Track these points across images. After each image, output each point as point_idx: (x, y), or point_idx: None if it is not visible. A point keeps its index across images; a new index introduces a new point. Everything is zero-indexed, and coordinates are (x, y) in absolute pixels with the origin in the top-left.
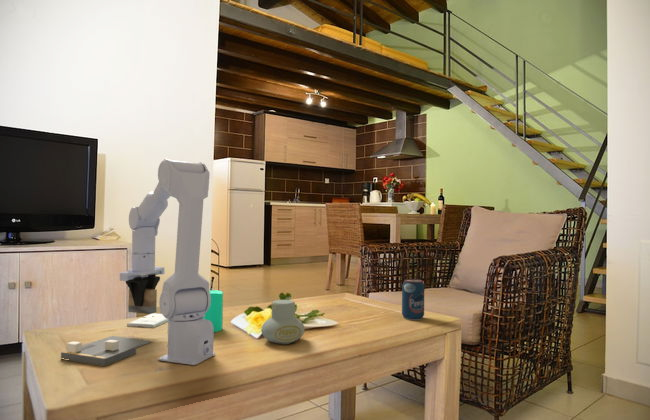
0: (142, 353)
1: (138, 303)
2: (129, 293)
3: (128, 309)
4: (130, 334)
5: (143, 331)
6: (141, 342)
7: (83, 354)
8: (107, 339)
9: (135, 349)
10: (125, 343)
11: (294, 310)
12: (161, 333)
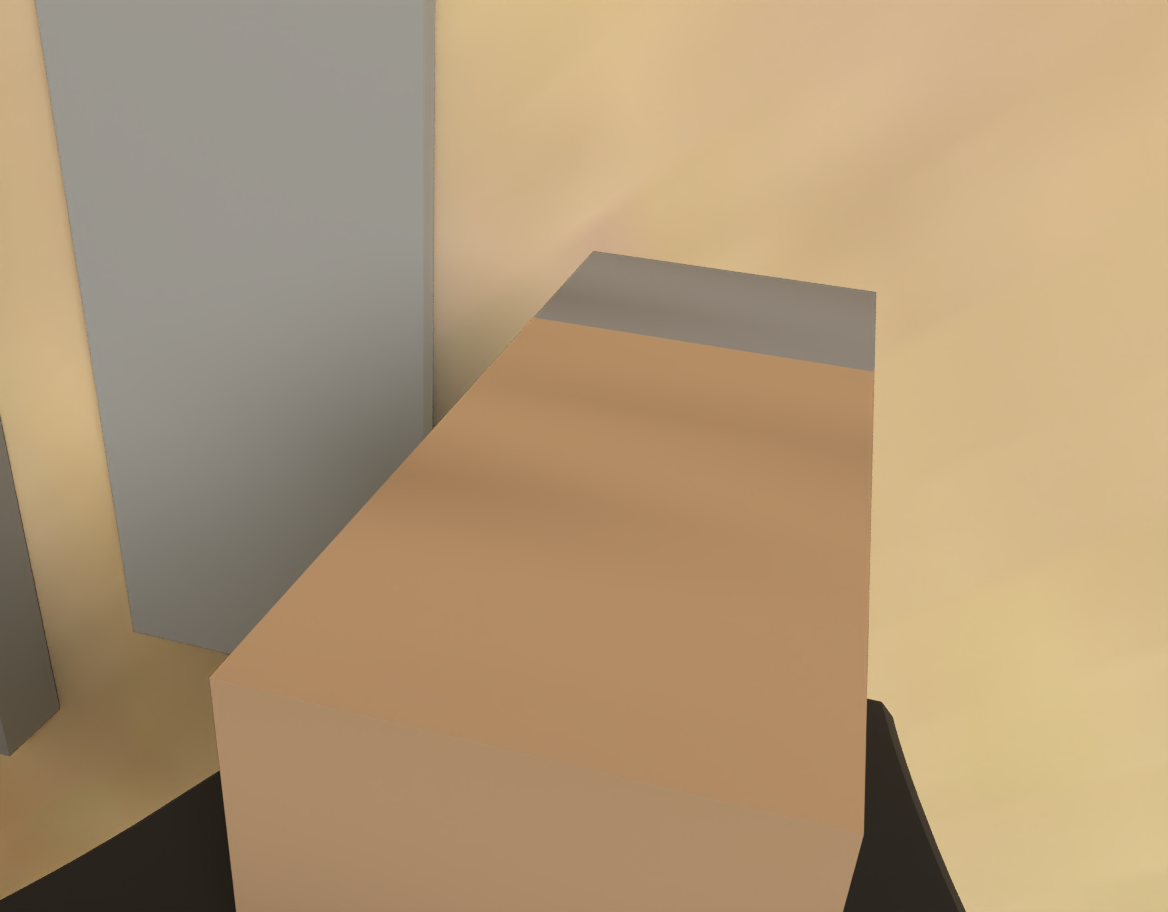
0: (97, 758)
1: None
2: (350, 577)
3: (577, 276)
4: (705, 188)
5: (960, 300)
6: None
7: None
8: (221, 81)
9: (24, 736)
10: (194, 473)
11: None
12: (881, 643)
